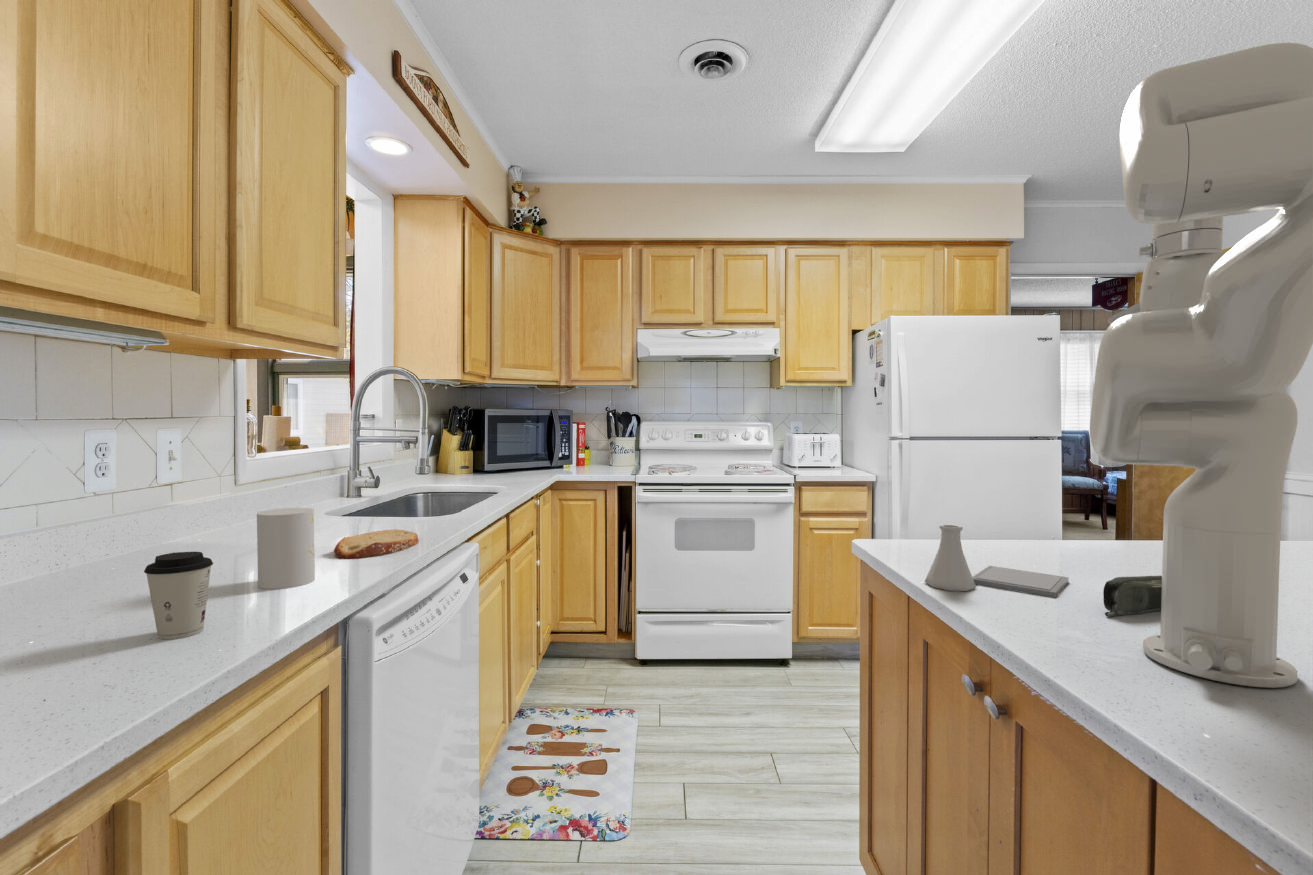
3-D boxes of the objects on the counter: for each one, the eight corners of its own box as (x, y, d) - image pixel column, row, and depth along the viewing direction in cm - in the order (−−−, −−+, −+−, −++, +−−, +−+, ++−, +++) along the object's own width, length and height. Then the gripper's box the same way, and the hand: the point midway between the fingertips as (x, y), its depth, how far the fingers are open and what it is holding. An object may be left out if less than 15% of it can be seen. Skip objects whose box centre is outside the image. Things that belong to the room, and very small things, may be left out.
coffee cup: (227, 626, 80) (226, 551, 80) (173, 645, 73) (171, 563, 73) (188, 621, 82) (186, 548, 82) (131, 639, 75) (129, 560, 75)
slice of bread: (412, 537, 142) (412, 521, 142) (433, 551, 127) (433, 533, 127) (325, 547, 131) (325, 530, 131) (337, 563, 117) (337, 544, 117)
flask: (916, 582, 102) (917, 523, 102) (950, 579, 104) (951, 521, 104) (948, 594, 95) (949, 531, 95) (985, 590, 97) (986, 528, 97)
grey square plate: (1055, 597, 93) (1055, 591, 93) (970, 583, 101) (970, 577, 101) (1068, 582, 102) (1068, 576, 102) (989, 569, 110) (989, 565, 110)
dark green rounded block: (1162, 571, 91) (1092, 577, 86) (1186, 576, 88) (1115, 583, 83) (1161, 604, 91) (1091, 612, 86) (1184, 610, 88) (1113, 619, 83)
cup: (324, 580, 103) (323, 510, 102) (273, 591, 96) (272, 516, 96) (299, 573, 107) (297, 506, 107) (248, 584, 100) (247, 512, 100)
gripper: (1110, 253, 87) (1108, 372, 88) (1279, 232, 78) (1275, 366, 78) (1108, 264, 94) (1105, 375, 94) (1264, 246, 84) (1260, 370, 84)
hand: (1182, 371), depth 86 cm, fingers open, 9 cm apart
